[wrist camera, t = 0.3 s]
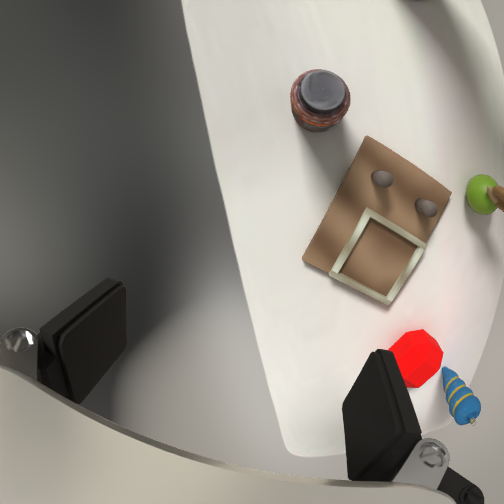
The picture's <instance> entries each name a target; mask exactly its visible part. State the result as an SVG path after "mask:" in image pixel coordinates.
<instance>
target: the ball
mask: <svg viewBox="0 0 504 504" xmlns="http://www.w3.org/2000/svg"><path fill="white" fill-rule="evenodd" d="M388 351H392V352H393V353H394V356H395V359H396V361H397V364H398V366H399V369H400V371H401V374H402V377H403V379H404V382H405V385H406V387H411V388H419V387H420V386H422V385H423V384H424V383H425V382H426V381H427V380H429V379H430V378H431V377H432V376H433V375H434V374H435V373H436V372H437V371H438V370H439V369H440V366H441V362H442V357H443V351H442V350H441V348H440V346H439V344H438V343H437V341H436V340H435V339H434V338H433V337H432V336H430V335H429V334H428V333H427V332H426V331H424V330H423V329H421V330H415V331H410V332H406V333H405V334H404V335H403V336H402V337H401V338H400V339H399V340H398V341H397V342H396V343H395V344H394V345H393V346H392V347H391V348H389V349H388Z"/></svg>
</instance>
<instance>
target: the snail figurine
mask: <svg viewBox="0 0 504 504" xmlns="http://www.w3.org/2000/svg"><path fill="white" fill-rule="evenodd" d="M466 197H467V201H468V203H469V205H470V207H471V208H472V209H473V210H474V211H475V212H477V213H479V214H483V215H487V214H490V213H492V212H494V211H495V210H496V209H497V207H498V208H499V209H501V210H502V211H503V212H504V188H503V187H501V186H498V185H497V183H496V182H495V180H494V179H492V178H491V177H489V176H487V175H477V176H475V177H473V178H472V179H471V180H470V181H469V183H468V185H467V189H466Z"/></svg>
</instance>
